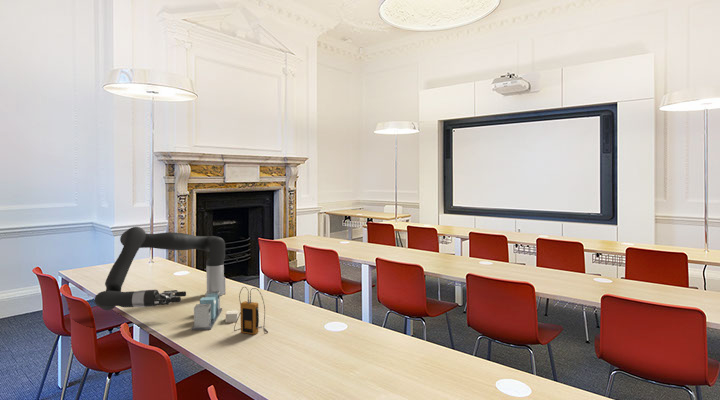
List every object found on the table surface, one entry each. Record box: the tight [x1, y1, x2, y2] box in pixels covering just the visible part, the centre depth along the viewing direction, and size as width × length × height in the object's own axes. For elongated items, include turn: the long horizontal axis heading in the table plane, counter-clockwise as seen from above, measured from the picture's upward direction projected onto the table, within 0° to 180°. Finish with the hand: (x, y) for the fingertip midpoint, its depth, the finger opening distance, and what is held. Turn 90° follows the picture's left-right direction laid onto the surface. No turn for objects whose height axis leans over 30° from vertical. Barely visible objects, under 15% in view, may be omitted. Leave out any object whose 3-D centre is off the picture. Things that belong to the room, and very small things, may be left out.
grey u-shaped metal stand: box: [191, 290, 223, 332], centre depth 183 cm, size 26×8×10 cm, turn 9°
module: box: [199, 296, 216, 319], centre depth 183 cm, size 4×6×9 cm
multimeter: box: [233, 286, 269, 336], centre depth 171 cm, size 15×10×20 cm
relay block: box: [225, 309, 239, 323], centre depth 183 cm, size 5×5×4 cm
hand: (183, 296), depth 182 cm, fingers open, 8 cm apart
